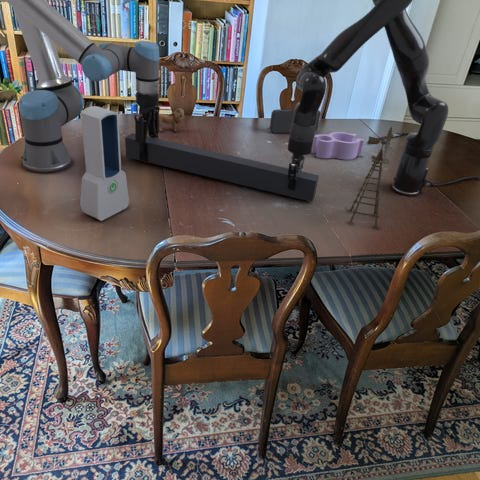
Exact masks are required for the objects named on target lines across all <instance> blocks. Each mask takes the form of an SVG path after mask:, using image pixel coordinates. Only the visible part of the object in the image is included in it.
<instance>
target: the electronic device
mask: <svg viewBox="0 0 480 480" xmlns="http://www.w3.org/2000/svg"><path fill="white" fill-rule="evenodd" d="M119 119H120V118H119V113H118V112H117V111H116V112H115V111H113V110H110V109H107V108H104V107H101V106H96V105H94V106H93V105H91V106H88V107H86V108H83V110H82V112H81V113H80V120H81V131H82V132H81V133H82V142H83V152H84V153H83V155H84V163H85V172H84V174H83V176H82V177H81V186H80V187H81V188H80V200H79V201H80V203H79V206H80V208H81V211H82V212H83V213H84V214H85V215H88V216H89V217H92V218H94V219H96V220H99V221H101V222H102V221H104V220H106V219H108V218H110V217H112V216H114V215H116V214H117V213H120V212H121V211H124V210H125V209H127V208H128V206H129V204H130V198H129V189H128V181H127V175H126V172H125V171H124V170H122V159H121V158H122V157H121V139H120V137H121V136H120V120H119Z"/></svg>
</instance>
